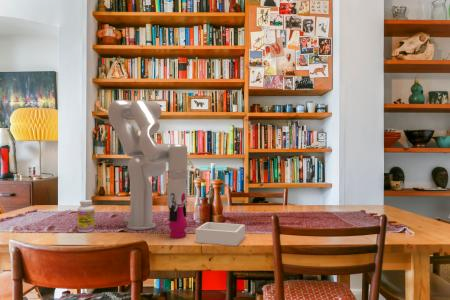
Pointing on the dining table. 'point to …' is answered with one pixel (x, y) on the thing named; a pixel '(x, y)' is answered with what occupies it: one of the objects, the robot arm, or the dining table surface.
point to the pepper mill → (178, 222)
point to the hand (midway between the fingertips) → (178, 218)
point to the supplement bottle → (85, 216)
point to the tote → (220, 233)
